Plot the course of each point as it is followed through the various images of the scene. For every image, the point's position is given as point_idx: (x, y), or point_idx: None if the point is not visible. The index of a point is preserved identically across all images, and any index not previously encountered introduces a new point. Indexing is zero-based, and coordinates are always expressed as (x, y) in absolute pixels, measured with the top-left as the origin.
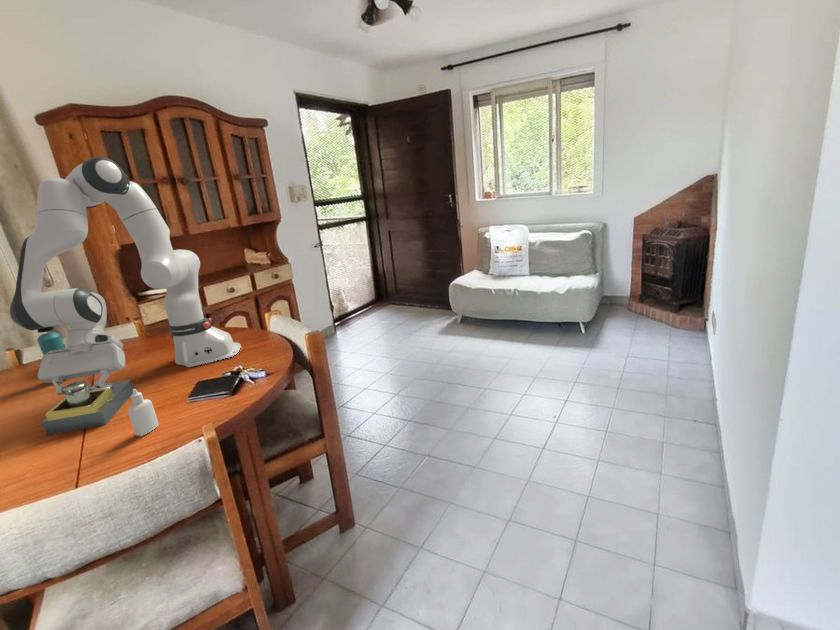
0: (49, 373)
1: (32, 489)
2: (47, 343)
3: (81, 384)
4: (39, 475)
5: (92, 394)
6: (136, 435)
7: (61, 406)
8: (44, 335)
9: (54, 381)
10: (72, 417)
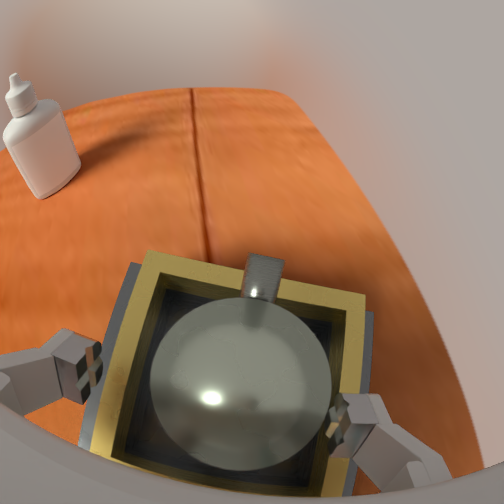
0: (500, 492)
1: (262, 100)
2: None
3: (178, 364)
4: (267, 126)
5: (193, 477)
6: (80, 163)
7: (332, 396)
8: None
9: (428, 462)
10: None
